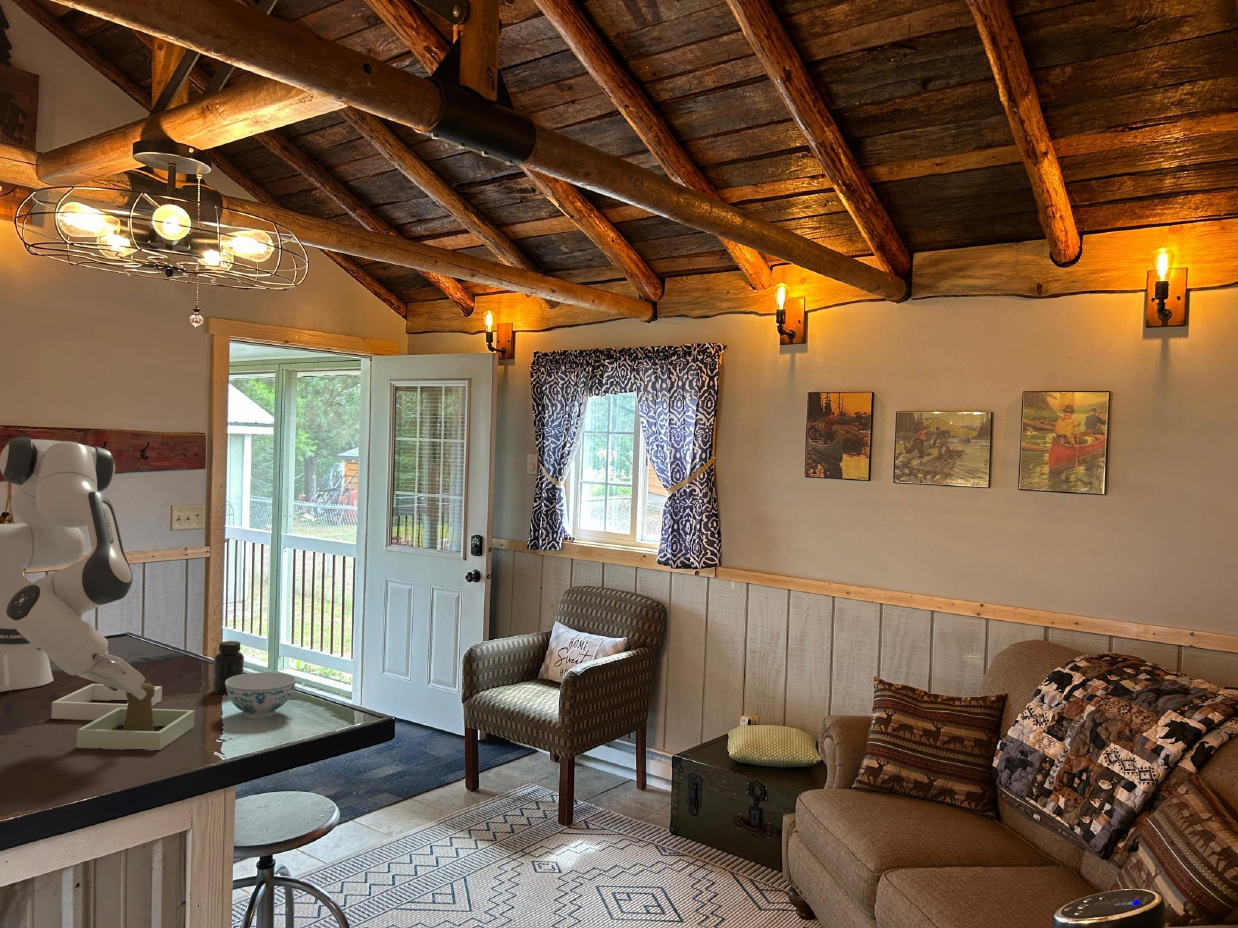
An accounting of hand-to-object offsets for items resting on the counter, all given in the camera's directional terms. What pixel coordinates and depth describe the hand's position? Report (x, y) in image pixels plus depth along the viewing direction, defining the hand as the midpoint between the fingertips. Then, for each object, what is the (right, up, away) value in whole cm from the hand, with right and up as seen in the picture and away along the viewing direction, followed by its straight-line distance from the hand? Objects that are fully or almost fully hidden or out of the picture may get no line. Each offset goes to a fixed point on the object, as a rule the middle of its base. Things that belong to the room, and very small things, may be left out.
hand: (129, 692), depth 184 cm
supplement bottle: (+3, -10, +39) cm, 40 cm away
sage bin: (+1, -10, +2) cm, 10 cm away
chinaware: (+18, -11, +22) cm, 30 cm away
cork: (+1, -10, +2) cm, 10 cm away
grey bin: (-15, -9, +19) cm, 26 cm away
